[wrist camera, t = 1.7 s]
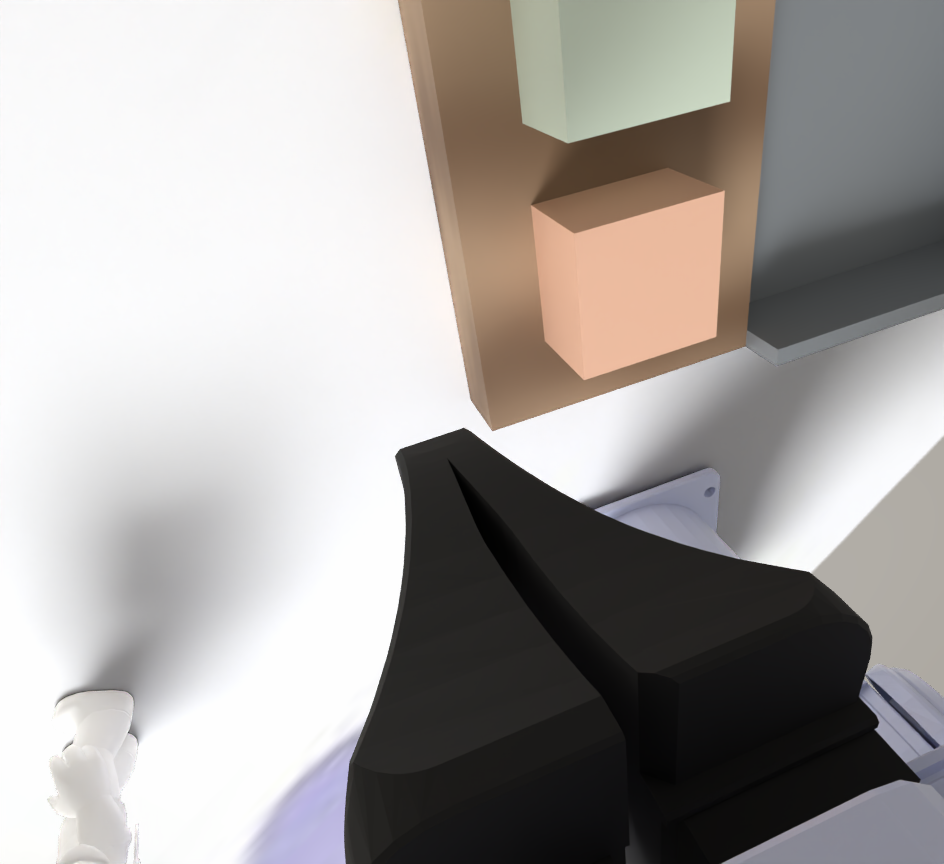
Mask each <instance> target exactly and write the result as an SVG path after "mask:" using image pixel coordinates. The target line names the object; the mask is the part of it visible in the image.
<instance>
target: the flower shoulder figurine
mask: <svg viewBox="0 0 944 864" xmlns="http://www.w3.org/2000/svg"><path fill="white" fill-rule="evenodd" d="M133 709H134V700H133V697H132V696H131V695H130V694H129V693H127V692H126V691H117V690H103V691H87V692H81V693H76V694H74V695H71V696H68V697H66V698H64V699H63V700H61V701H60V702H59V703H58V704H57V705H56V707H55V710H54V714H53V717H52V719H53V726H54V728H55V729H56V730H60V731H63V732H68V733H75V737H74V741H73V744H71V745H69V746H68V747H67V748H66V749H65V750H64V751H63V753H62V758H61V757H60V756H58V755H56V756H53V757H52V758H51V759H50V761H49V769H50V772H51V774H52V778H53V781H54V784H55V787H56V790H57V793H58V795H52V796H50V797H49V798H48V799H47V800H48V803H49V804H50V806H51V807H52V808H53V810H54V811H55V812H56V813H57V814H58V815H60V816H63V817H65V819H64V821H63V823H62V825H61V827H60V831H59V838H58V856H57V862H56V864H126V862H127V856H128V849H129V845H130V843H131V840H132V835H131V831H130V828H129V827H127V824H126V823H127V813H126V809H125V805H124V803H123V802H121V800H120V793H121V792H122V790H123V788H124V787H125V785H126V783H127V781H128V780H129V778H130V776H131V774H132V772H133V770H134V767H135V762H136V757H137V750H138V742H137V739H136V738H135V737H134V736H133V735H132V734H130V733H128V731H129V729H130V726H131V721H132V715H133ZM138 841H139V824H136V828H135V844H134V864H141V862H140V859H139V858H138Z"/></svg>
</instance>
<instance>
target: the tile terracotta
mask: <svg viewBox="0 0 944 864" xmlns="http://www.w3.org/2000/svg"><path fill="white" fill-rule="evenodd" d="M724 197H725V191H724V190H722V189H719V188H717V187H714V186H712V185H710V184H707V183H705V182H702V181H700V180H697V179H695V178H692V177H690V176H687V175H685V174H682V173H680V172H677V171H675V170H672V169H670V168H665V169H661V170H657V171H654V172H650V173H647V174H643V175H639V176H636V177H632V178H628V179H625V180H621V181H617V182H614V183H610V184H606V185H603V186H599V187H595V188H592V189H588V190H584V191H581V192H577V193H574V194H570V195H566V196H563V197H559V198H555V199H552V200H548V201H544V202H541V203H537V204H533V205H531V211H532V221H533V230H534V240H535V250H536V260H537V269H538V279H539V289H540V299H541V308H542V318H543V328H544V338H545V342H546V343H547V344H548V345H549V346H550V347H551V348H552V349H553V350H554V351H555V352H556V353H557V354H558V355H559V356H560V357H561V358H562V359H563V360H564V361H565V362H566V363H567V364H568V365H569V366H570V367H571V368H572V369H573V370H574V371H575V372H576V373H577V374H578V375H579V376H580V377H581V378H582V379H583V380H587V379H590V378H593V377H596V376H599V375H602V374H605V373H608V372H611V371H614V370H617V369H620V368H623V367H626V366H629V365H632V364H635V363H638V362H641V361H644V360H647V359H650V358H653V357H656V356H659V355H662V354H666V353H669V352H672V351H675V350H678V349H681V348H684V347H687V346H690V345H693V344H696V343H699V342H702V341H705V340H708V339H711V338H714V337H716V333H717V316H718V299H719V282H720V265H721V248H722V231H723V214H724Z"/></svg>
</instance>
